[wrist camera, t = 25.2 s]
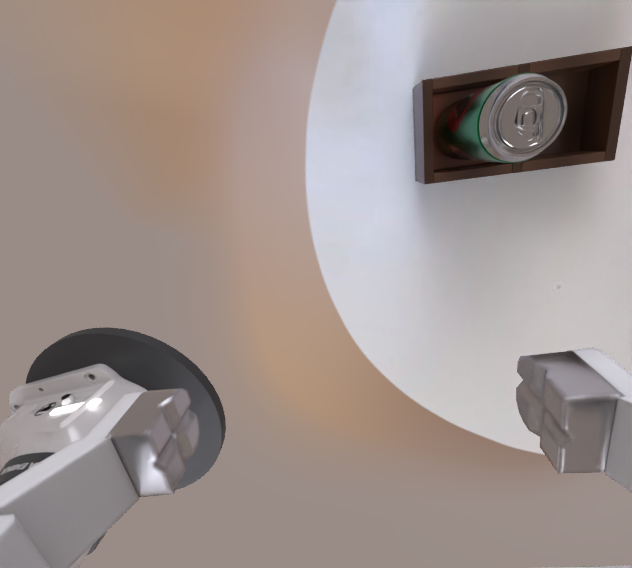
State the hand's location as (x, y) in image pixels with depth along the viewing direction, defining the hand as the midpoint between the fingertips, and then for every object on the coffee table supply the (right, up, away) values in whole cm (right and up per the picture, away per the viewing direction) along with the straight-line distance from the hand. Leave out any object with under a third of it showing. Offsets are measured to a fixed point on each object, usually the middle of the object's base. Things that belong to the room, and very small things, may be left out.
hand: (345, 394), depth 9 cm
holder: (+16, +17, +23) cm, 33 cm away
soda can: (+13, +17, +23) cm, 31 cm away
